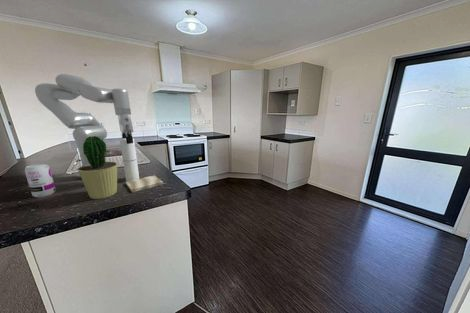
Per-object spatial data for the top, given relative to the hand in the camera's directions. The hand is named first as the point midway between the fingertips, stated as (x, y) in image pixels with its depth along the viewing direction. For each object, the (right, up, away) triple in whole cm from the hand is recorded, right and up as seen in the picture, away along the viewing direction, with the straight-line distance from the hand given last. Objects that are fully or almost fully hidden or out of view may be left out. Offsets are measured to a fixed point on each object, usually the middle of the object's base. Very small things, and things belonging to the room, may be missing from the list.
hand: (128, 142), depth 102 cm
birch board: (+10, -24, -1) cm, 26 cm away
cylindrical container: (-1, -22, +6) cm, 23 cm away
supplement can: (-33, -27, -14) cm, 45 cm away
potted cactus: (-4, -27, -13) cm, 31 cm away
